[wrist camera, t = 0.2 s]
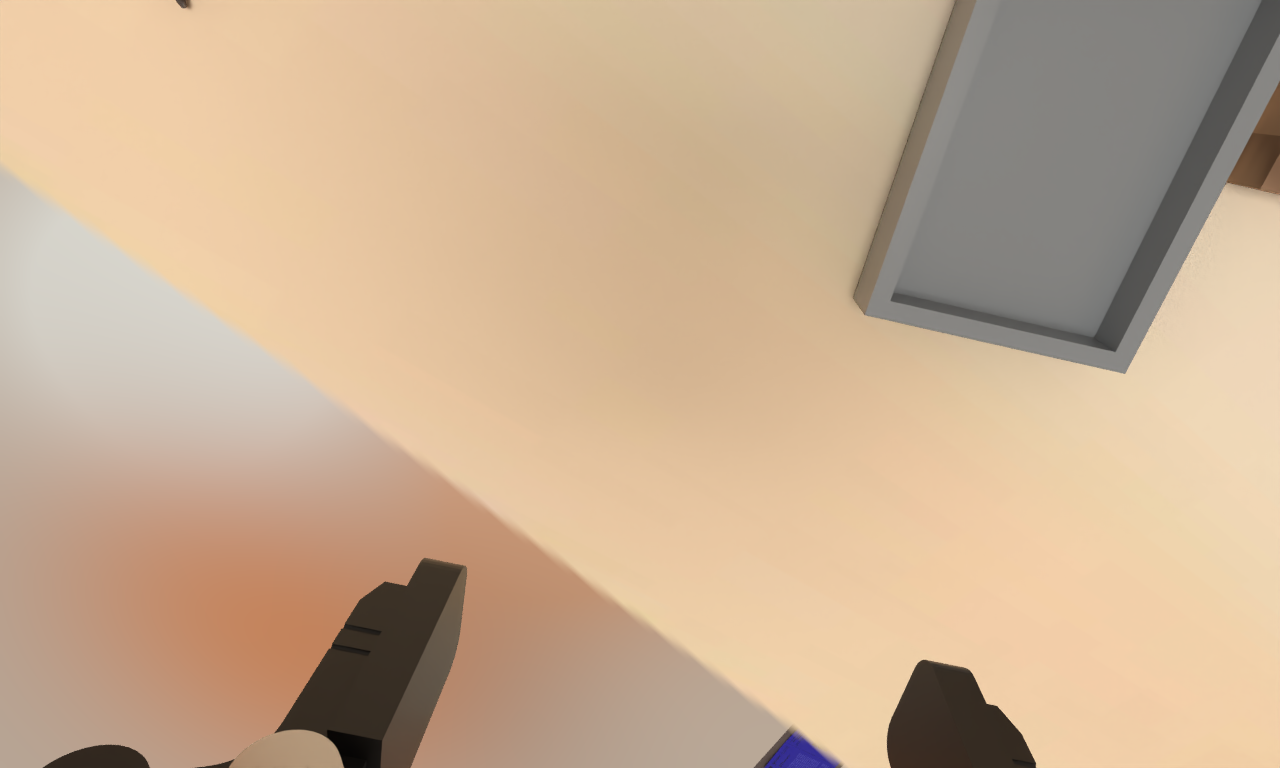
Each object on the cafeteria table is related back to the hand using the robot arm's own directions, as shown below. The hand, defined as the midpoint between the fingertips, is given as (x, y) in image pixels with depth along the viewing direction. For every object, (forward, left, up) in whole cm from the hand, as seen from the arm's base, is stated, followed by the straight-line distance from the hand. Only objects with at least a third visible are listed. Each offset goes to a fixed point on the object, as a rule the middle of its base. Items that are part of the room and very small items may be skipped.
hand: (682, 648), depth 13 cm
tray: (-10, +16, -30) cm, 35 cm away
